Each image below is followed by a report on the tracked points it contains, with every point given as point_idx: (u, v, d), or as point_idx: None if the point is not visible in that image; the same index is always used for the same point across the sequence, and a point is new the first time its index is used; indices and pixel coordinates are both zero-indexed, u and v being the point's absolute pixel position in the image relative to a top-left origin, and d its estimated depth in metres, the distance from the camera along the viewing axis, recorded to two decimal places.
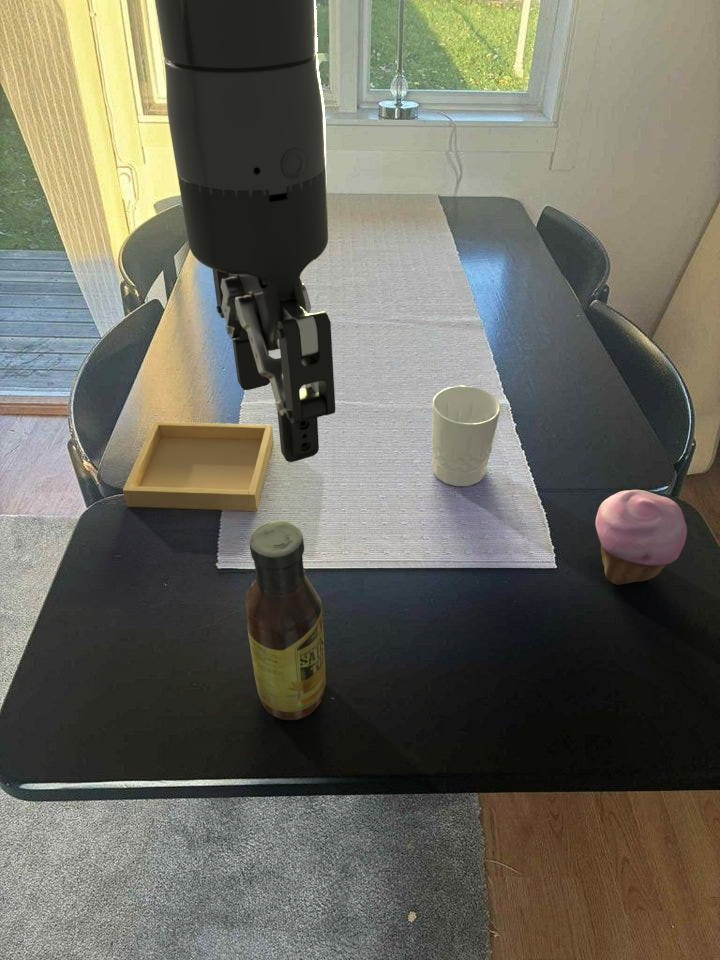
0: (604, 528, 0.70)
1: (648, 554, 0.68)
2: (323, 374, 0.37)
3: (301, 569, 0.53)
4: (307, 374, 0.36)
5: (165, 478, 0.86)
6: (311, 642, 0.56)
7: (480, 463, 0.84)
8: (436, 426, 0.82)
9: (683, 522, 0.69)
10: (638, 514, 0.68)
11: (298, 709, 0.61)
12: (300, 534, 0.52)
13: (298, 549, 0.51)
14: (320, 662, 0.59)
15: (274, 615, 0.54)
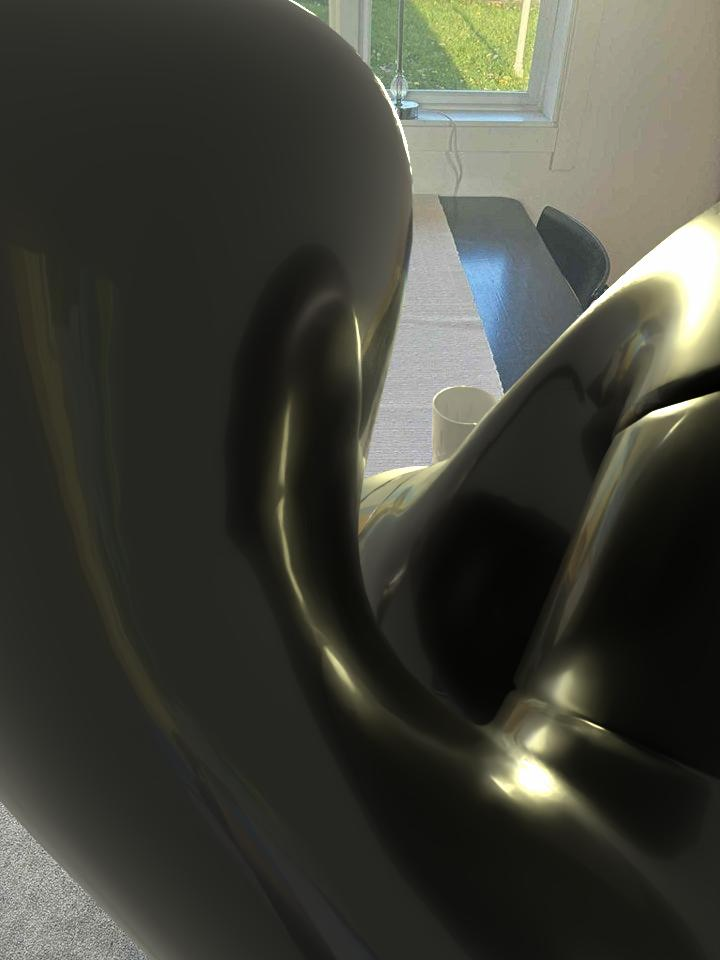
0: None
1: None
2: None
3: None
4: None
5: None
6: None
7: None
8: (436, 426, 0.82)
9: None
10: None
11: None
12: None
13: None
14: None
15: None
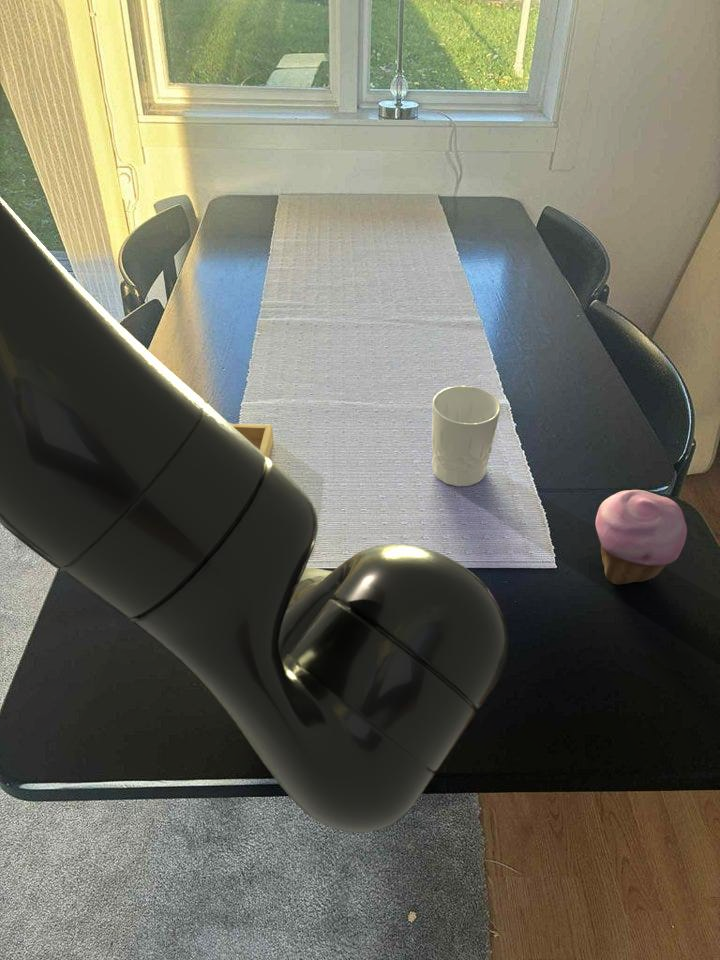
0: (604, 528, 0.70)
1: (648, 554, 0.68)
2: None
3: None
4: None
5: None
6: None
7: (480, 463, 0.84)
8: (436, 426, 0.82)
9: (683, 522, 0.69)
10: (638, 514, 0.68)
11: None
12: None
13: None
14: None
15: None
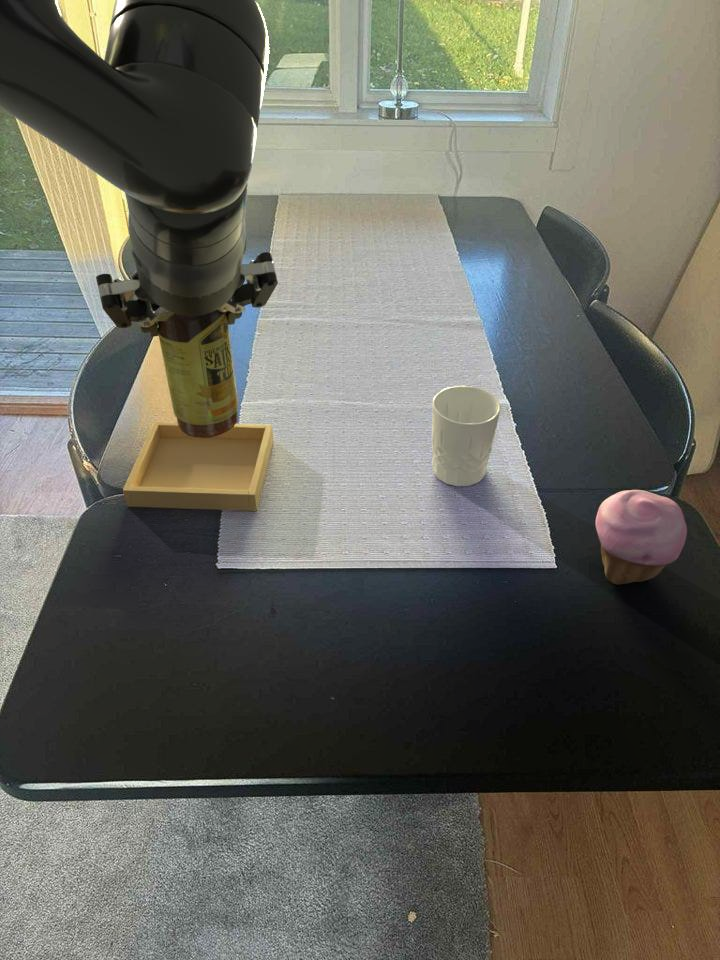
0: (604, 528, 0.70)
1: (648, 554, 0.68)
2: None
3: None
4: None
5: (165, 478, 0.86)
6: (215, 340, 0.62)
7: (480, 463, 0.84)
8: (436, 426, 0.82)
9: (683, 522, 0.69)
10: (638, 514, 0.68)
11: (209, 422, 0.66)
12: None
13: None
14: (227, 373, 0.65)
15: None
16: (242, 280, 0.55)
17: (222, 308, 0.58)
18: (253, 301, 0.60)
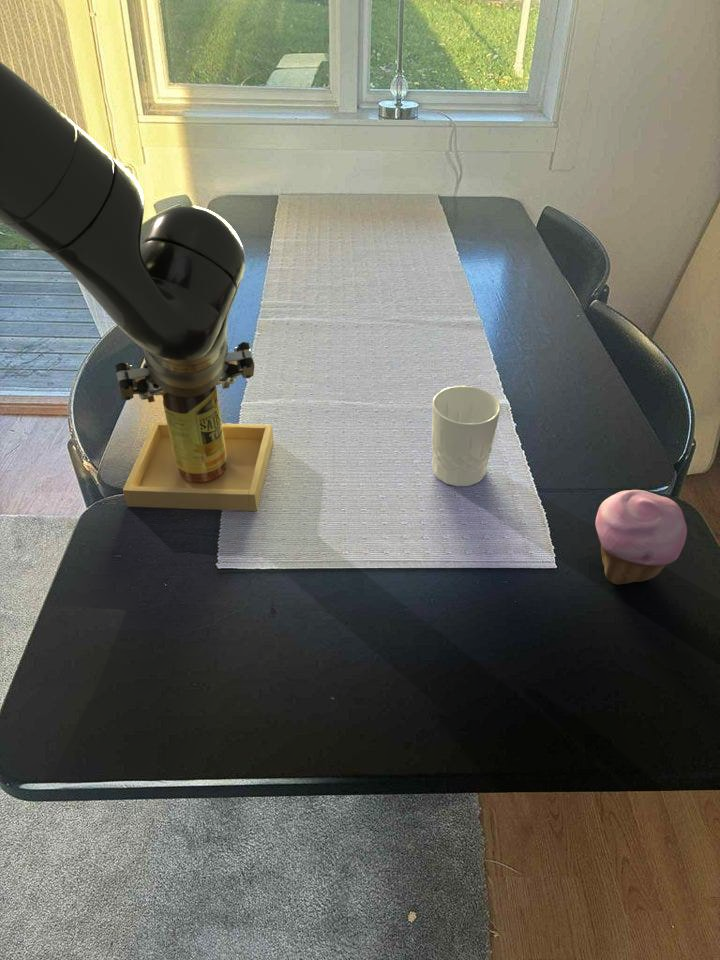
0: (604, 528, 0.70)
1: (648, 554, 0.68)
2: None
3: None
4: None
5: (165, 478, 0.86)
6: (207, 411, 0.79)
7: (480, 463, 0.84)
8: (436, 426, 0.82)
9: (683, 522, 0.69)
10: (638, 514, 0.68)
11: (203, 471, 0.84)
12: None
13: None
14: (218, 433, 0.82)
15: None
16: (226, 366, 0.72)
17: (216, 383, 0.75)
18: None
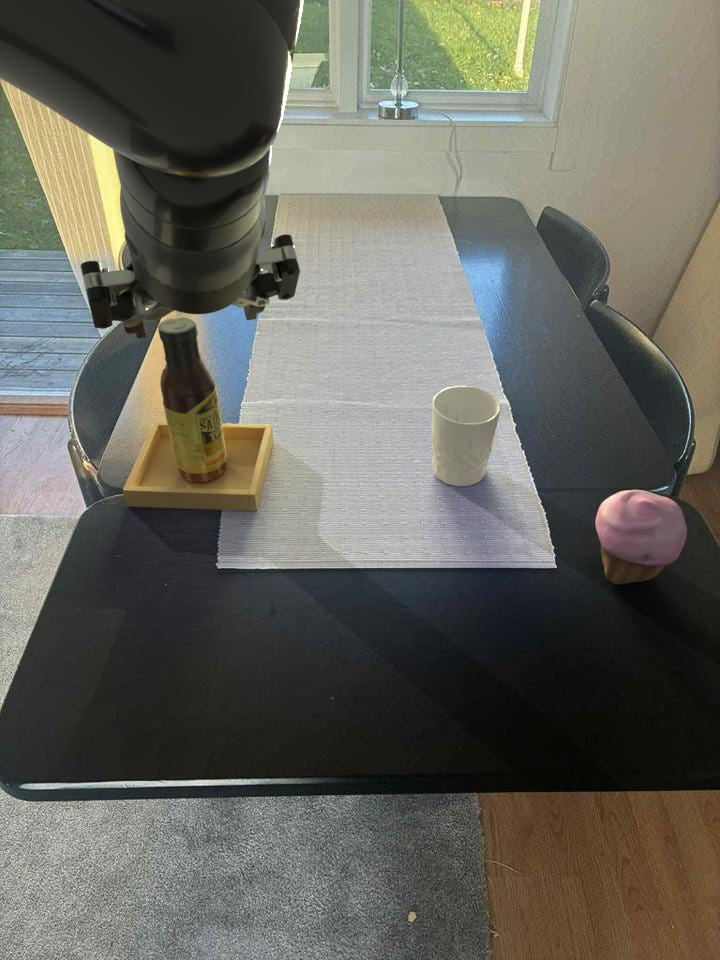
0: (604, 528, 0.70)
1: (648, 554, 0.68)
2: None
3: (196, 350, 0.76)
4: None
5: (165, 478, 0.86)
6: (207, 411, 0.79)
7: (480, 463, 0.84)
8: (436, 426, 0.82)
9: (683, 522, 0.69)
10: (638, 514, 0.68)
11: (203, 471, 0.84)
12: (194, 323, 0.75)
13: (191, 330, 0.74)
14: (217, 433, 0.82)
15: (178, 383, 0.77)
16: (257, 271, 0.46)
17: (239, 303, 0.49)
18: None
